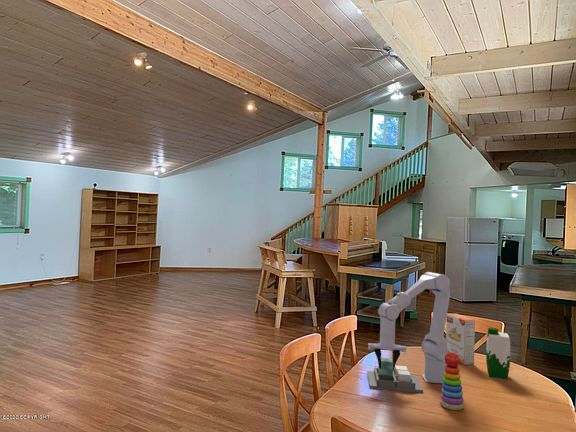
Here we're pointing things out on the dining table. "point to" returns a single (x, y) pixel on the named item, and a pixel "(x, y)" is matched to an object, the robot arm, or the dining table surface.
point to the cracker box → (461, 337)
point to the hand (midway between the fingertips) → (386, 368)
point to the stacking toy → (452, 384)
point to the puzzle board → (394, 380)
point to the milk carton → (498, 354)
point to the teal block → (386, 366)
